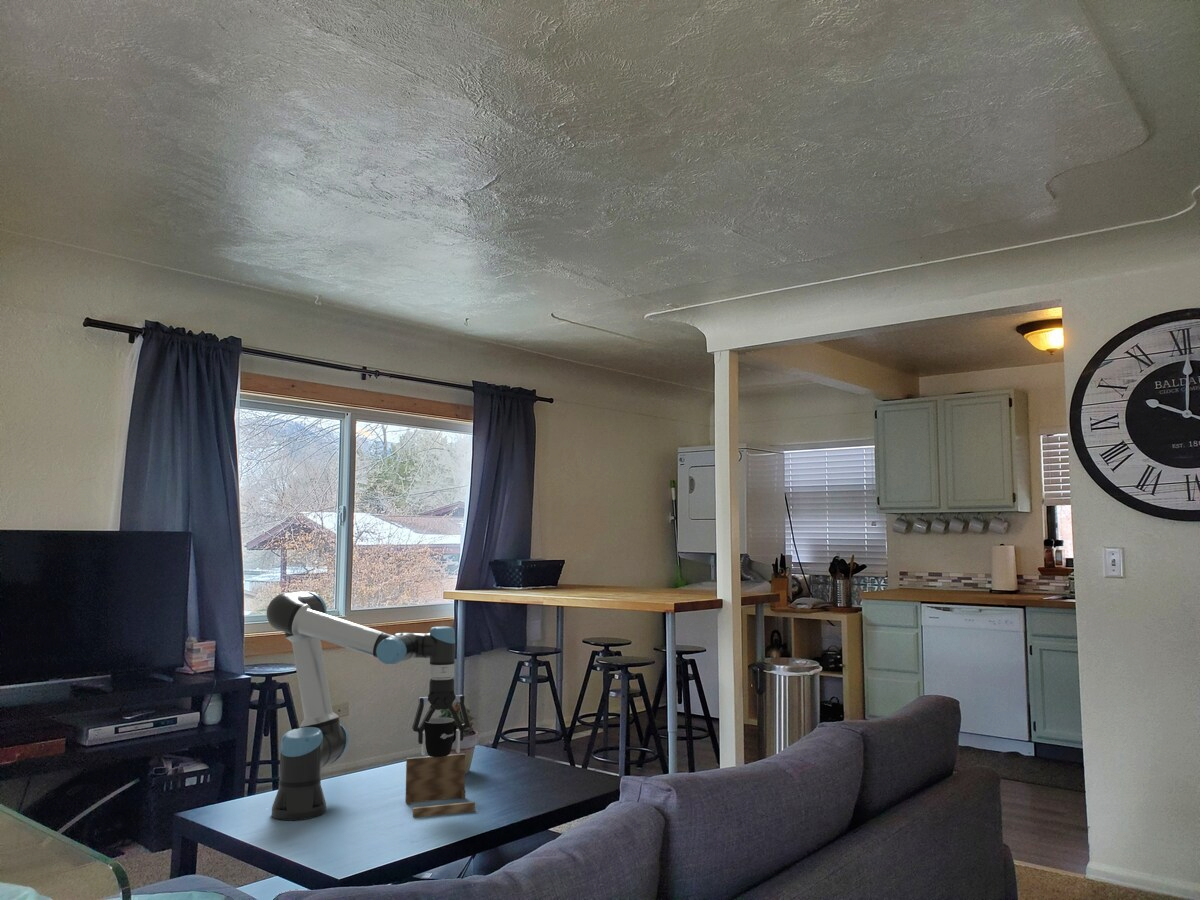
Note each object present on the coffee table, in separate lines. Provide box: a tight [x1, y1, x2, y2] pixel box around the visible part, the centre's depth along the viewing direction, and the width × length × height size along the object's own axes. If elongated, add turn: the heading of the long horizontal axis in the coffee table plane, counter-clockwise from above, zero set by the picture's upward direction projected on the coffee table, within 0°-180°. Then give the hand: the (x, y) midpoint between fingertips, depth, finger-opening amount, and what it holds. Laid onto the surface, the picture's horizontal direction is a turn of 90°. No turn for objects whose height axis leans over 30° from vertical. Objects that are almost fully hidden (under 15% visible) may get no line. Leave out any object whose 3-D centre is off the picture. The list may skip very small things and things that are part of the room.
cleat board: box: [405, 753, 476, 818], centre depth 264 cm, size 18×17×13 cm
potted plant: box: [436, 701, 480, 775], centre depth 306 cm, size 18×20×25 cm
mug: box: [424, 717, 457, 757], centre depth 265 cm, size 12×9×10 cm
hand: (440, 753), depth 264 cm, fingers closed on mug, 10 cm apart
